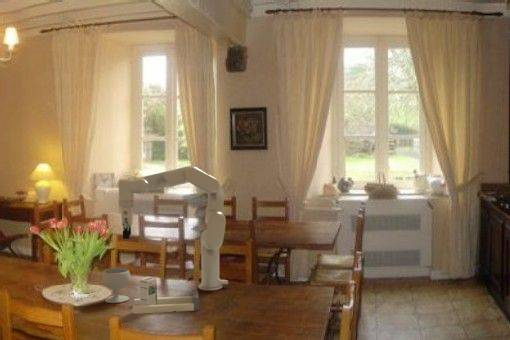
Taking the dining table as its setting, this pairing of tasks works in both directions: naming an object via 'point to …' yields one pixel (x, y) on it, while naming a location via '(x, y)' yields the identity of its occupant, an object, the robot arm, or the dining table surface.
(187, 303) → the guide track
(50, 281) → the dining table surface
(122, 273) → the chalice
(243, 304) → the dining table surface
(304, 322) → the dining table surface
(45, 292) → the dining table surface
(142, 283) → the syrup box
